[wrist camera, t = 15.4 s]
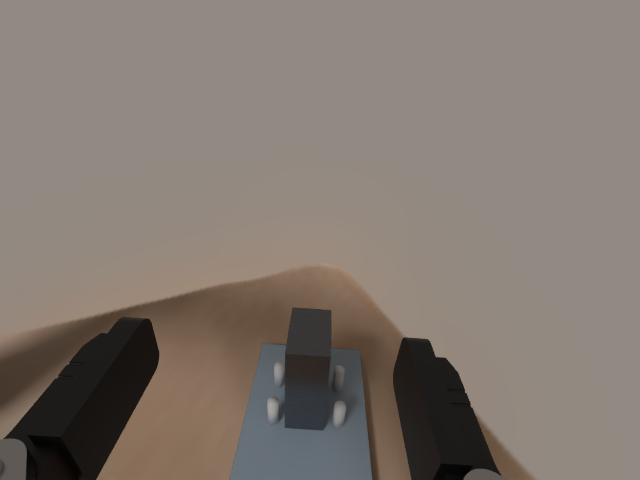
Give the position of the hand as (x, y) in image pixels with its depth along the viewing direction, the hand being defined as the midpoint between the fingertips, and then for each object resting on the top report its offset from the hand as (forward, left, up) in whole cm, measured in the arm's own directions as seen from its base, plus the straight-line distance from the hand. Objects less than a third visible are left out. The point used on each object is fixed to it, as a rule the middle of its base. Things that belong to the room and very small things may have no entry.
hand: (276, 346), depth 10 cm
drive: (-2, +15, -25) cm, 29 cm away
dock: (-2, +15, -27) cm, 31 cm away
